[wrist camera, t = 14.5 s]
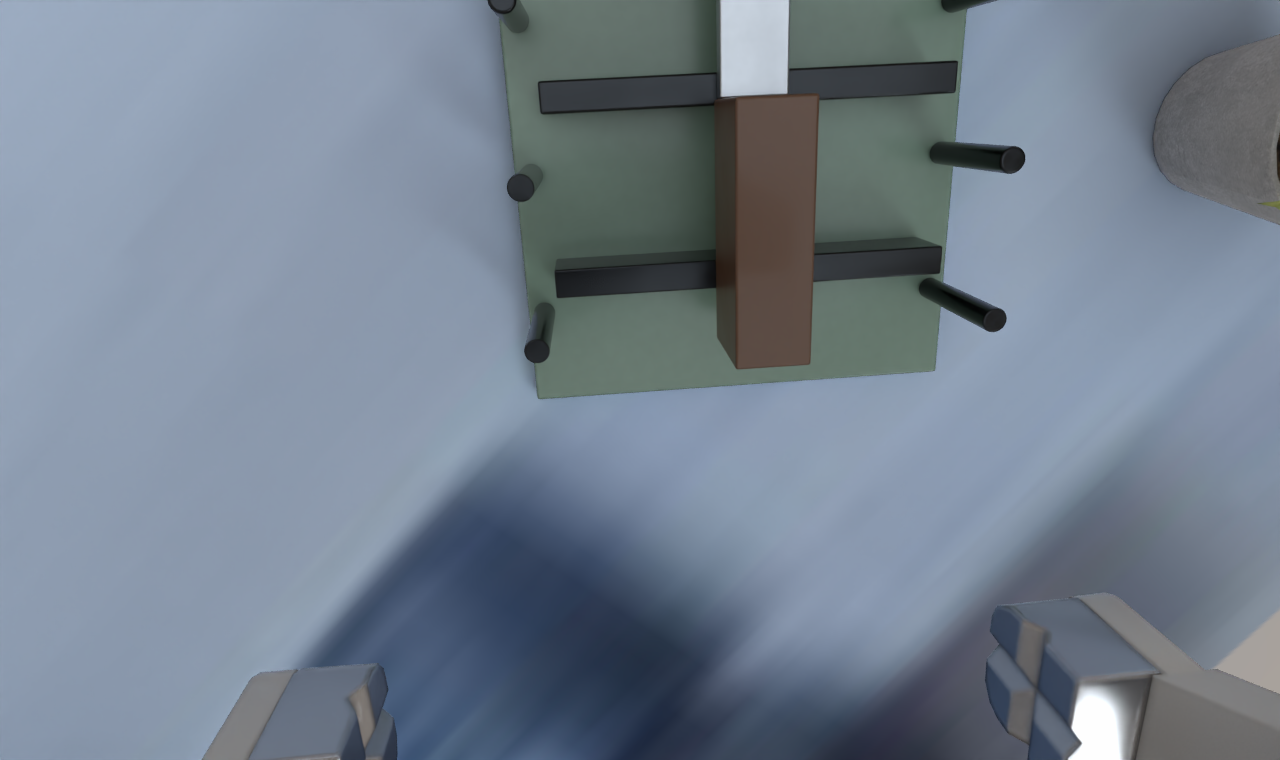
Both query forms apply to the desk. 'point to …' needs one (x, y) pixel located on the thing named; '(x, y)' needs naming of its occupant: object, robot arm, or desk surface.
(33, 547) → the desk surface
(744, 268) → the knife
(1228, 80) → the house plant
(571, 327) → the rack
